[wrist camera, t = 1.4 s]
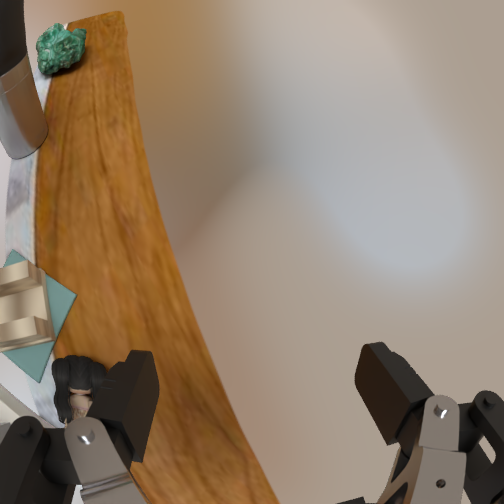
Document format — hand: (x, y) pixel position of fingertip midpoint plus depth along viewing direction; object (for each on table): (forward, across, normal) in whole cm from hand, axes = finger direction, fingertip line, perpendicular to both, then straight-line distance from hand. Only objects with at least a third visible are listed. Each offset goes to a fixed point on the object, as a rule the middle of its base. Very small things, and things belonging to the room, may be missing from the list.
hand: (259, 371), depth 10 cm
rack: (+16, +29, +8) cm, 34 cm away
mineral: (+48, +44, -39) cm, 76 cm away
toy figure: (+12, +19, +19) cm, 29 cm away
